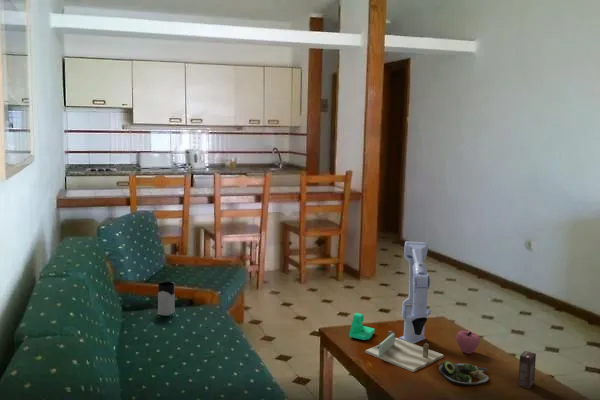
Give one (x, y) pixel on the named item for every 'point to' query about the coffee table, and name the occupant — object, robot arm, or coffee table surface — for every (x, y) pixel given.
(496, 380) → the coffee table surface
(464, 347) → the apple
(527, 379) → the box
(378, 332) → the coffee table surface
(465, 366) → the salad plate
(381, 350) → the door
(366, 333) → the camera mount
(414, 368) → the door frame board
